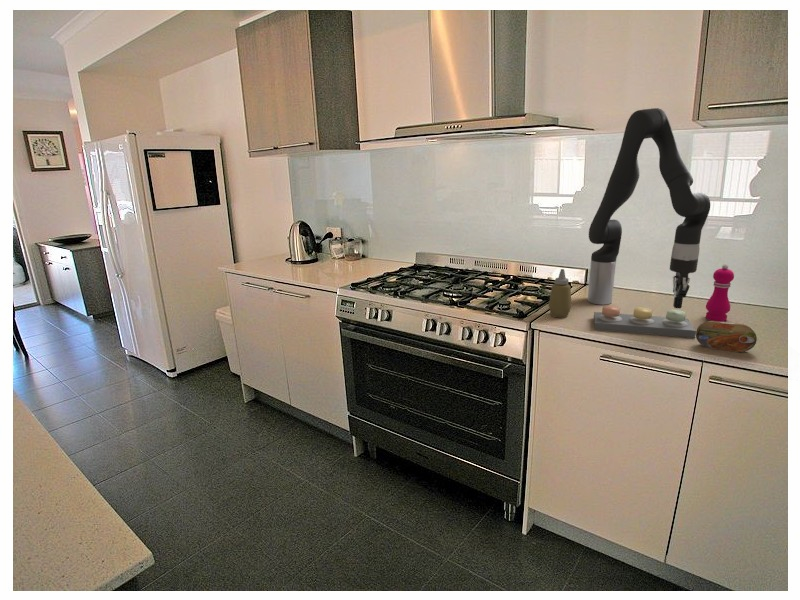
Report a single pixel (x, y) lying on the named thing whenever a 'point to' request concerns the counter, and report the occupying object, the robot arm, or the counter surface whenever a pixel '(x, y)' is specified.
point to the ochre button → (642, 313)
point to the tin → (726, 336)
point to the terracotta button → (610, 311)
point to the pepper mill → (720, 295)
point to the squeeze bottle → (560, 297)
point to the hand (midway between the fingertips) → (677, 307)
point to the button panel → (644, 325)
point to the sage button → (676, 315)
